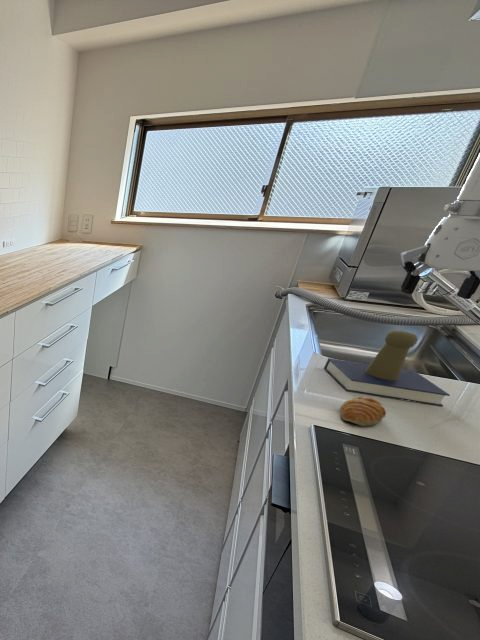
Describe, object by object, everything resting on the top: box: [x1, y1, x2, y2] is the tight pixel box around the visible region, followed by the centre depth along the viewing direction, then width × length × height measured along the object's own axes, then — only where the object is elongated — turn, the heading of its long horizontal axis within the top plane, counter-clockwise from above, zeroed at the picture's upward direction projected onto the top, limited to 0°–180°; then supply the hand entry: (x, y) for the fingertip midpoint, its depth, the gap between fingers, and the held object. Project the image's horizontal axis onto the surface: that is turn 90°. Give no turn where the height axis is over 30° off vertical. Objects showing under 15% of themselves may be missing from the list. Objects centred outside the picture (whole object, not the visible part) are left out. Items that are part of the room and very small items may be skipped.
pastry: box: [340, 396, 387, 427], centre depth 85 cm, size 9×7×4 cm
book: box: [323, 357, 451, 407], centre depth 101 cm, size 18×14×3 cm
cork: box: [365, 329, 418, 380], centre depth 97 cm, size 6×6×11 cm
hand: (433, 295), depth 90 cm, fingers open, 9 cm apart
